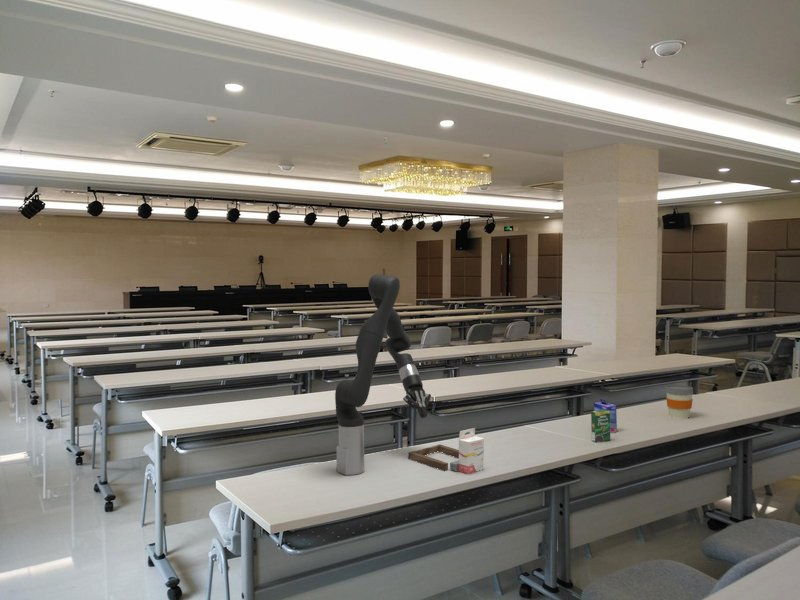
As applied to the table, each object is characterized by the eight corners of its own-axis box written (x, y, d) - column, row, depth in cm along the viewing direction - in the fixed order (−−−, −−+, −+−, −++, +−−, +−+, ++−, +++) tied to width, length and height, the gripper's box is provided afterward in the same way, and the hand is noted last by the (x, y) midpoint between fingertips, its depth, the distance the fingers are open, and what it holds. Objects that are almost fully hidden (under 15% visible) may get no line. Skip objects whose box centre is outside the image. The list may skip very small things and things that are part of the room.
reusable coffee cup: (698, 419, 294) (698, 389, 294) (672, 420, 294) (672, 389, 294) (685, 414, 307) (685, 384, 306) (661, 414, 307) (661, 385, 306)
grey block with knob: (456, 471, 217) (455, 444, 217) (449, 468, 220) (449, 442, 220) (478, 464, 225) (478, 438, 225) (471, 462, 228) (471, 436, 227)
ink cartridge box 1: (468, 474, 214) (467, 433, 214) (458, 471, 218) (458, 431, 218) (484, 469, 220) (484, 429, 219) (474, 466, 224) (474, 427, 223)
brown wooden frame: (444, 471, 219) (444, 464, 219) (408, 458, 234) (408, 452, 234) (476, 461, 230) (476, 455, 229) (440, 450, 245) (440, 444, 245)
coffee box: (594, 442, 255) (594, 412, 254) (590, 441, 257) (590, 410, 257) (610, 441, 257) (611, 410, 257) (606, 439, 260) (606, 409, 259)
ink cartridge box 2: (593, 428, 279) (593, 397, 279) (602, 427, 281) (602, 396, 281) (607, 433, 270) (607, 401, 270) (617, 432, 272) (617, 400, 272)
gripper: (401, 373, 236) (415, 413, 227) (428, 373, 244) (442, 411, 235) (392, 383, 241) (405, 422, 232) (418, 382, 248) (432, 420, 240)
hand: (424, 417), depth 233 cm, fingers closed
